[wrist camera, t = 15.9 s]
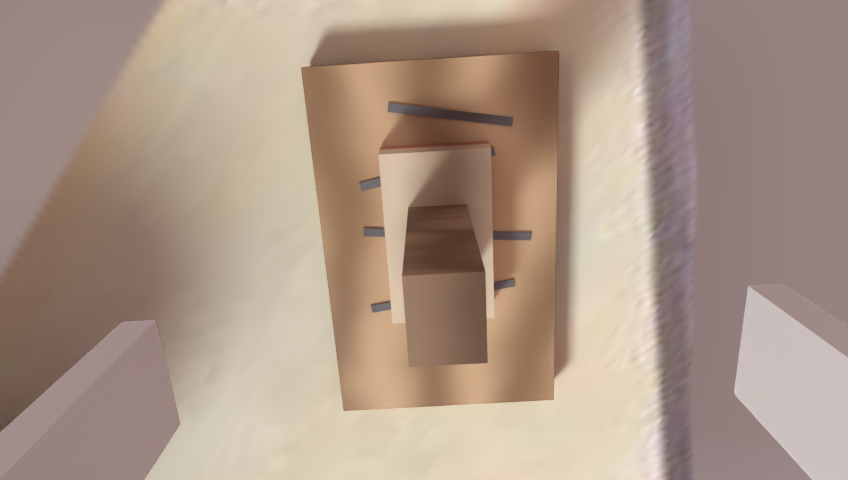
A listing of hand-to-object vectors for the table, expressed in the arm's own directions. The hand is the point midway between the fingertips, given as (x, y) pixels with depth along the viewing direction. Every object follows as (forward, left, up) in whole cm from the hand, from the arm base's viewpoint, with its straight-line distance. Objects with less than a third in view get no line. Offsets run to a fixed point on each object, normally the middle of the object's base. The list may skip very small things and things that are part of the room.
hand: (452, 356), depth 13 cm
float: (0, -4, -21) cm, 21 cm away
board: (0, -5, -23) cm, 23 cm away
